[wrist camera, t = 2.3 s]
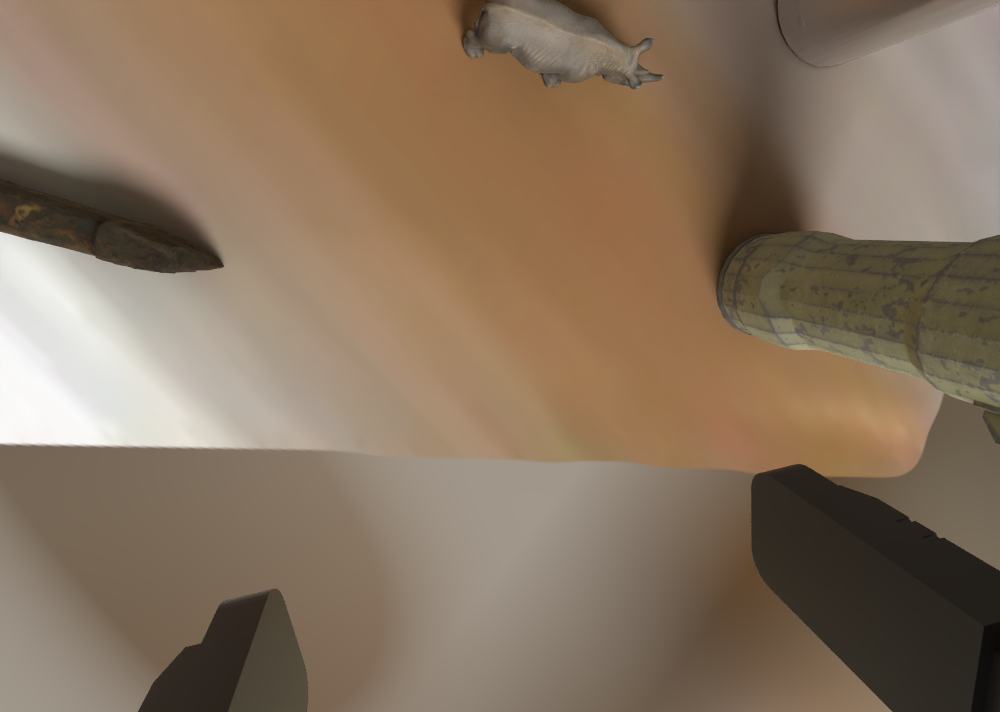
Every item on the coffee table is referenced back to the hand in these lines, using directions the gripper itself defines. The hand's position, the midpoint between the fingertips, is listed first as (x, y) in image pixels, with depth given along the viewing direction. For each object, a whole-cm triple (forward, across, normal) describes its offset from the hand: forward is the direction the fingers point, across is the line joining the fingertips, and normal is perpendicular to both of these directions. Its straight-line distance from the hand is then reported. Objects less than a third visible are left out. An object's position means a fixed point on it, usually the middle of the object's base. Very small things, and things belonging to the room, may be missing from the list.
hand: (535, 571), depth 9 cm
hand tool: (+33, +22, -9) cm, 41 cm away
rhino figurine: (+33, -12, -15) cm, 38 cm away
